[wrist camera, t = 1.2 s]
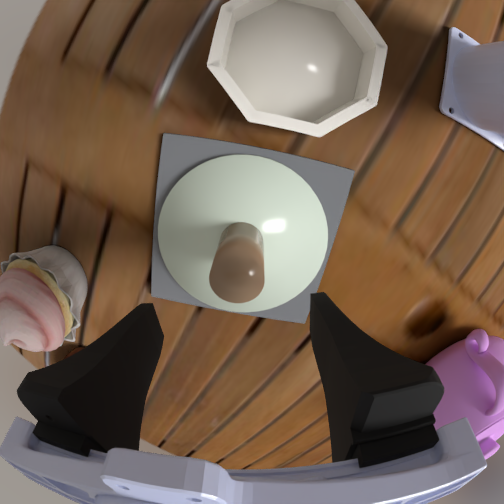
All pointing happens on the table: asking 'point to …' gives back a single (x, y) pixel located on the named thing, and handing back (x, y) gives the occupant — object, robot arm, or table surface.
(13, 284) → the cupcake
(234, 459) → the table surface
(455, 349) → the teapot
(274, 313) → the mat
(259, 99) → the bowl
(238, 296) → the lid
